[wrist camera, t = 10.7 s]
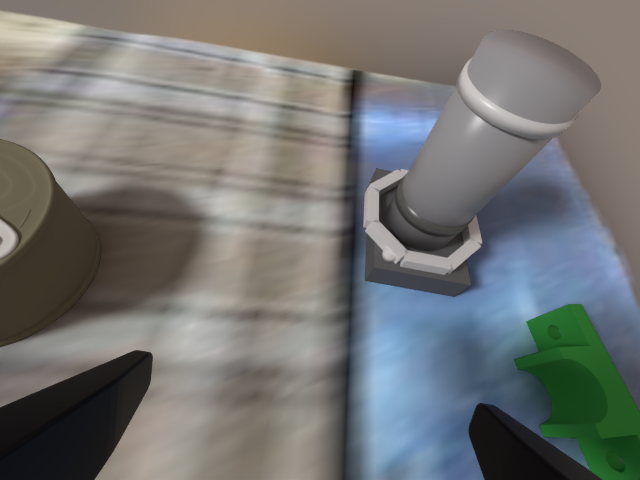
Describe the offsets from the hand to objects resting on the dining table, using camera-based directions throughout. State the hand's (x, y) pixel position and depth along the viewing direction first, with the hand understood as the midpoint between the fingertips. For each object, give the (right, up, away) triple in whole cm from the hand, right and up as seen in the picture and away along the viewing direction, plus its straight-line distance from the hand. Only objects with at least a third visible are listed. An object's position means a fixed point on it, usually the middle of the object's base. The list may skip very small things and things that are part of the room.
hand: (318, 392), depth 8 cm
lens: (+9, +6, +19) cm, 21 cm away
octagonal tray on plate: (+8, +4, +21) cm, 23 cm away
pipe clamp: (+18, -8, +15) cm, 25 cm away
